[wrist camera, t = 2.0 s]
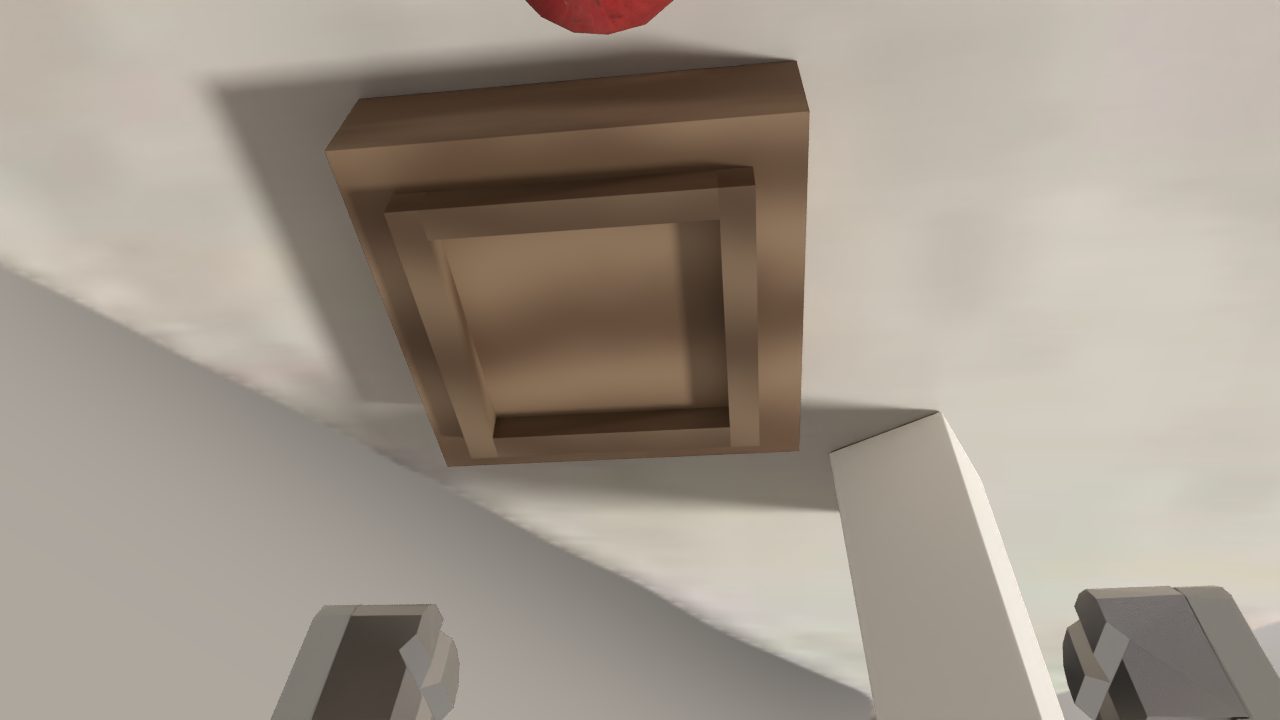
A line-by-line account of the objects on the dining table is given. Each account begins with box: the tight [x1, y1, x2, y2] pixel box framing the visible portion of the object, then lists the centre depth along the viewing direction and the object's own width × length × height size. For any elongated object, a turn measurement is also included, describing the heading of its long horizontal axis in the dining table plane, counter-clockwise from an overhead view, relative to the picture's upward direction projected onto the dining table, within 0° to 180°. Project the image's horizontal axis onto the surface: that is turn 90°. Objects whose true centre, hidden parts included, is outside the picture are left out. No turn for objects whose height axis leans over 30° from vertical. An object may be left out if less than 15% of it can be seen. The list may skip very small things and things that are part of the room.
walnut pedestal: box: [325, 61, 810, 467], centre depth 34 cm, size 16×16×5 cm
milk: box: [830, 412, 1065, 720], centre depth 35 cm, size 6×6×22 cm
